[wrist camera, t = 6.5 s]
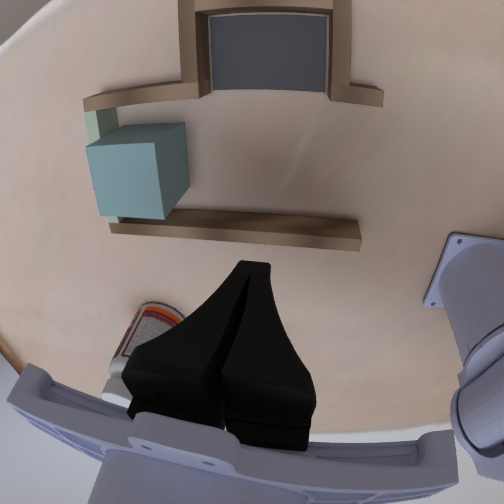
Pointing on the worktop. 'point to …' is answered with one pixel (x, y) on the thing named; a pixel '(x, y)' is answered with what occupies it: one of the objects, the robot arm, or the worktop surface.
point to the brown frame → (198, 85)
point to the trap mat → (268, 52)
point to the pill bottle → (140, 331)
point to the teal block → (139, 170)
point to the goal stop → (102, 132)
